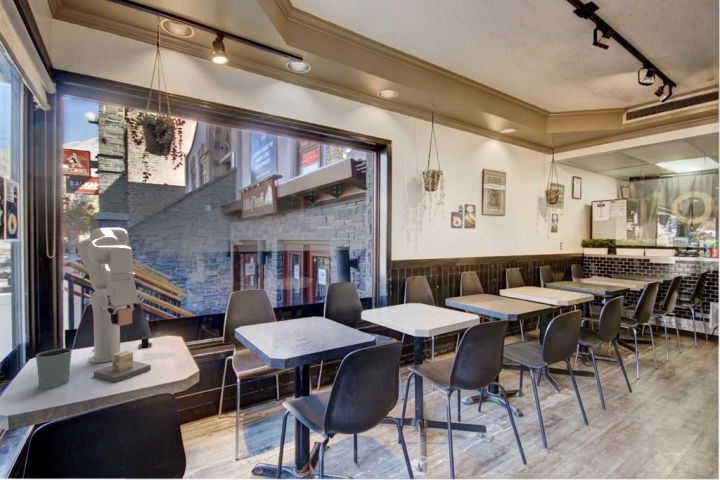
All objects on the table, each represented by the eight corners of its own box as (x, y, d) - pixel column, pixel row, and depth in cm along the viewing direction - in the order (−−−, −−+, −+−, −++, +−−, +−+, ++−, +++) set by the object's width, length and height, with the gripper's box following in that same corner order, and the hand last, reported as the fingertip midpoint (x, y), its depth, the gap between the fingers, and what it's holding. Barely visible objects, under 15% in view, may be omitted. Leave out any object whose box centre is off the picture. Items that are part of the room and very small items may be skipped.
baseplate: (93, 376, 140) (93, 371, 140) (129, 364, 152) (129, 360, 152) (115, 382, 134) (115, 377, 134) (150, 369, 147) (150, 364, 147)
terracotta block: (111, 324, 142) (111, 309, 141) (124, 321, 146) (124, 307, 146) (119, 325, 140) (119, 310, 139) (132, 323, 144) (132, 308, 144)
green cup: (30, 391, 127) (29, 358, 127) (46, 380, 136) (45, 349, 136) (63, 387, 130) (63, 355, 129) (77, 377, 139) (76, 346, 139)
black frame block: (152, 349, 175) (152, 340, 175) (135, 351, 171) (135, 342, 171) (153, 342, 186) (153, 333, 186) (137, 344, 182) (137, 335, 182)
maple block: (112, 369, 142) (112, 354, 142) (125, 365, 146) (125, 350, 146) (120, 371, 140) (120, 356, 140) (133, 366, 144) (132, 352, 144)
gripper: (136, 274, 152) (136, 316, 152) (92, 279, 136) (93, 326, 137) (147, 275, 149) (148, 318, 149) (104, 280, 133) (105, 328, 134)
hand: (122, 321), depth 143 cm, fingers closed on terracotta block, 5 cm apart
